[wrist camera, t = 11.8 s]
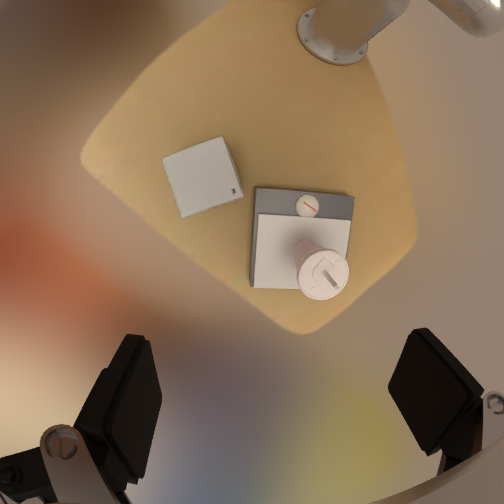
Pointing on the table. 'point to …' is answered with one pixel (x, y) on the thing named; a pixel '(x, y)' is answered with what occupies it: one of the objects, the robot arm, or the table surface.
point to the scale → (294, 231)
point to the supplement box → (203, 177)
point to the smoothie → (319, 270)
